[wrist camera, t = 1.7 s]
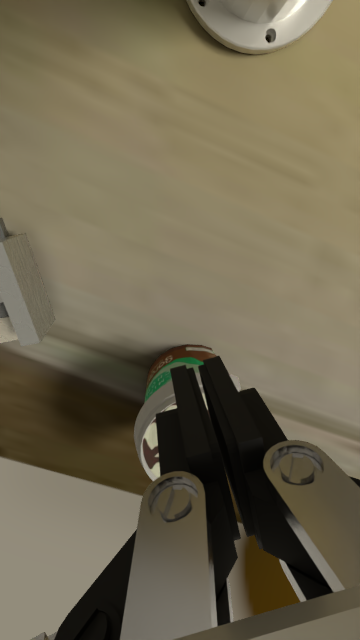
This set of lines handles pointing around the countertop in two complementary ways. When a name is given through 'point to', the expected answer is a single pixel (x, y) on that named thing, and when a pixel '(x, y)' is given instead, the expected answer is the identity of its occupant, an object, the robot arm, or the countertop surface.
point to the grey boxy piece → (23, 290)
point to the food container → (165, 399)
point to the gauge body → (3, 328)
